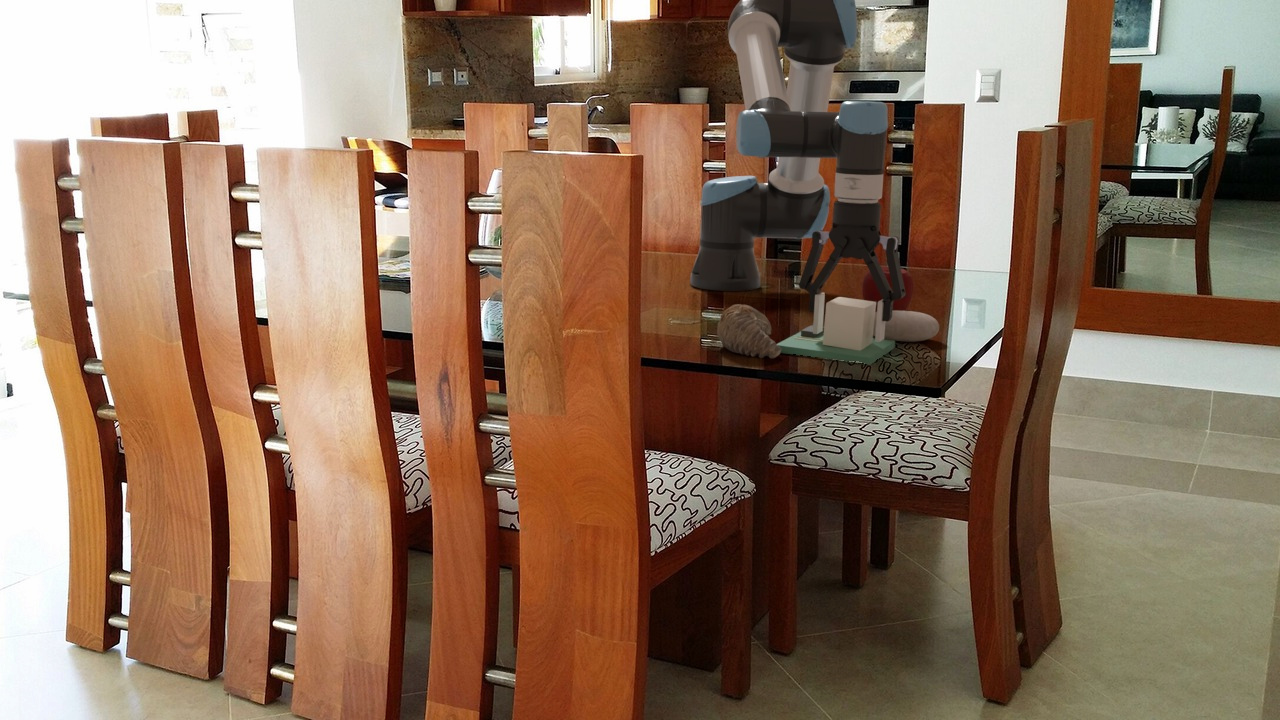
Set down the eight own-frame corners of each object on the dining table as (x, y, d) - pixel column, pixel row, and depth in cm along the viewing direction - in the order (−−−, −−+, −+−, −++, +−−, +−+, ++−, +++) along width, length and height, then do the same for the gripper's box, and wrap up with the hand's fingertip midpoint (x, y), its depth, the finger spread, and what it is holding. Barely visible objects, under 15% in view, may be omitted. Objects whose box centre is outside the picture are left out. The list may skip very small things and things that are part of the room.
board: (774, 352, 182) (776, 326, 181) (804, 336, 194) (805, 312, 193) (870, 365, 174) (872, 339, 173) (894, 347, 186) (896, 323, 185)
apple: (881, 324, 204) (885, 271, 202) (849, 314, 213) (853, 263, 210) (921, 320, 209) (925, 268, 206) (888, 311, 217) (892, 260, 214)
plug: (822, 344, 181) (826, 302, 180) (835, 336, 187) (839, 296, 185) (860, 350, 179) (864, 308, 177) (872, 342, 184) (876, 301, 183)
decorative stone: (860, 342, 190) (862, 314, 189) (865, 331, 199) (867, 304, 197) (936, 349, 187) (939, 320, 186) (938, 337, 195) (941, 310, 194)
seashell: (740, 361, 191) (719, 307, 191) (794, 342, 188) (772, 287, 187) (723, 378, 179) (700, 320, 178) (780, 357, 175) (757, 298, 175)
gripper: (783, 197, 179) (775, 332, 184) (921, 207, 169) (909, 349, 174) (799, 193, 185) (791, 324, 191) (933, 203, 175) (921, 340, 180)
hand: (848, 336), depth 182 cm, fingers open, 10 cm apart
